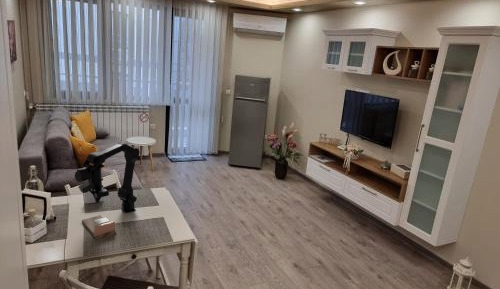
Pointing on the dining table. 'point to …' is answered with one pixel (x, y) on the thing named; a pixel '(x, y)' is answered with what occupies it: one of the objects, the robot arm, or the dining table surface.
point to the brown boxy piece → (99, 227)
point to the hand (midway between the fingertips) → (97, 203)
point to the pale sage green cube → (101, 221)
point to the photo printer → (90, 197)
